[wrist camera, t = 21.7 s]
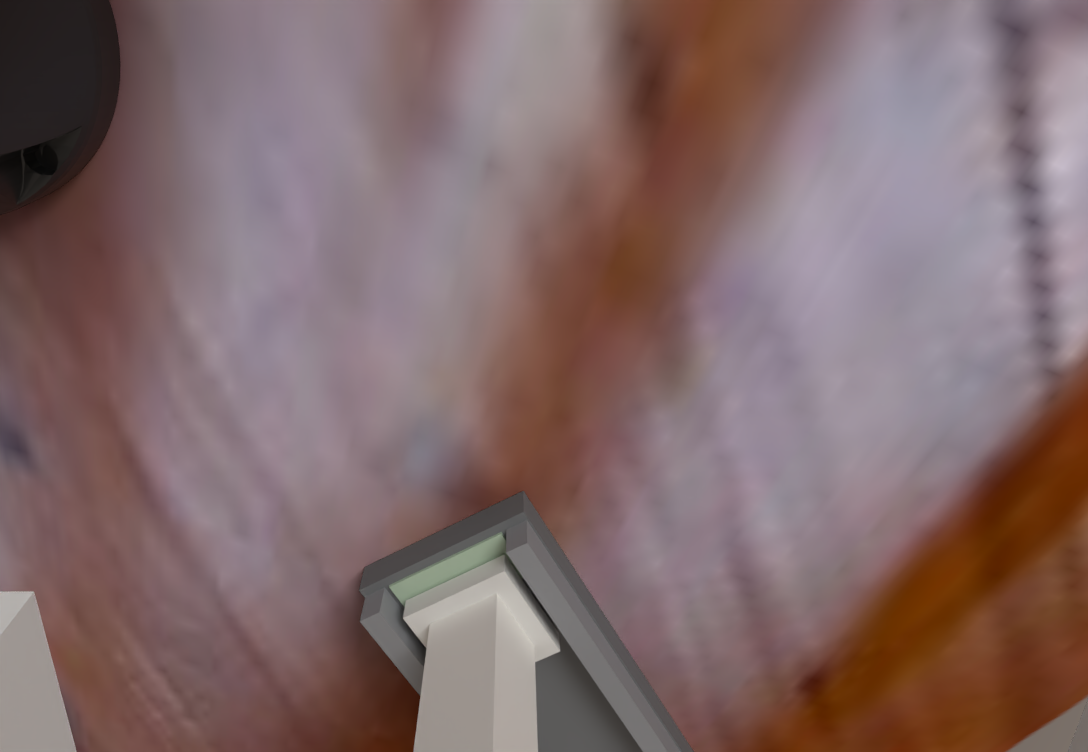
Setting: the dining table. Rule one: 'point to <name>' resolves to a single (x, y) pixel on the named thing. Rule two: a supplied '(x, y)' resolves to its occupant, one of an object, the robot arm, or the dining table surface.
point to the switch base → (584, 632)
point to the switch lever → (480, 661)
